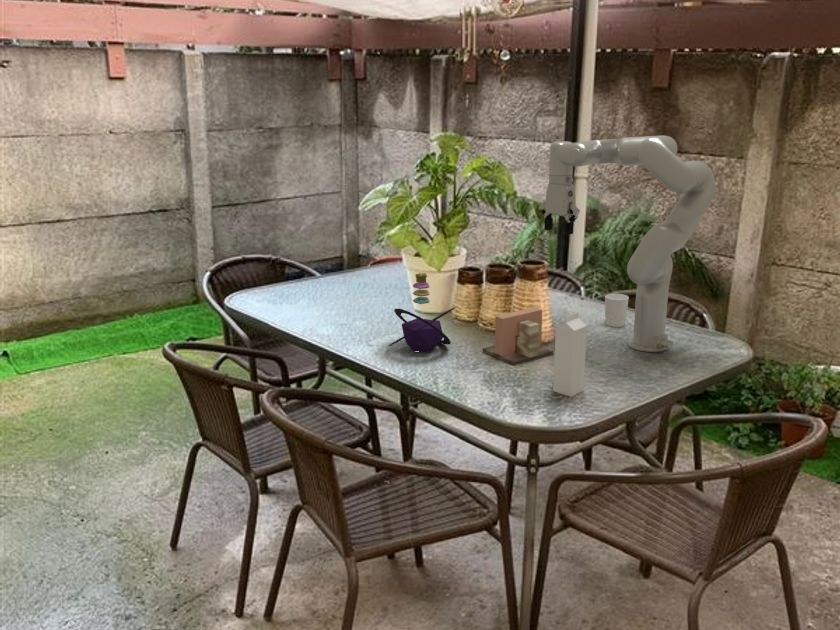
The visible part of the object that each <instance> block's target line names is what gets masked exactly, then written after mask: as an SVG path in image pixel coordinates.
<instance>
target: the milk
mask: <svg viewBox="0 0 840 630" xmlns="http://www.w3.org/2000/svg"><path fill="white" fill-rule="evenodd" d="M587 329H588V326H587V324H585V322H583V321H582V319H580V317H579V312H575V313H572V314H569V315H567V316H565V318H564V322H563V323H560V324H558V325H555V336H554V338H555V339H554V361H553V363H554V364H553V365H554V366H553V389H552V390H553V392H554V393H557V394H561V395H564V396H567V397H570V398H571V397H574V396H576V395H577V394H580V393H583V391H584V389H585V388H584V387H585V370H586V368H585V367H586V353H587V352H586V351H587V350H586V349H587V347H586V346H587V332H588V331H587Z"/></svg>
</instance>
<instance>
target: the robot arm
mask: <svg viewBox="0 0 840 630" xmlns="http://www.w3.org/2000/svg"><path fill="white" fill-rule="evenodd" d="M677 153H678V143H677V142H676V140H675V139H674V138H673V137H671V136H669V135H648V136H646V135H645V136H628V137H621V138H615V139H614V138H612V139H608V138H607V139H593V140H584V141H579V142H578V141H576V142H571V141H567V140H565V141H564V140H559V141H558V140H557V141H553V142H551V143H550V146H549V165H548V166H549V169H548V174H549V175H548V183H547V187H546V194H545V201H543V202H542V203H540V204H539V206H540V209H541V213H542V217H543V219H544V228H543V229H544V231H551V230H553V227H554V226H553V225H554V218H553V215H555V216H560V217H564V219H565V221H566V222H565V223H564V227H565V228H564V234H565V235H566V236H568V235H573V234H574V223H575V222H576V221H577V219H578V216H579V214H580V209H579V208H578V207H577V205H576V189H575V186H574V184H573V182H574V178H573V174H574V173H573V170H574V169H573V168H574V167H585V166H590V165H595V164H620V165H621V166H623V167H631V166H633V167H634V166H643V167H644V168H645V169H646V170H647V171H648V172H649V173H650V174H651V175H653V177H654V178H656V180H658V181H659V183H661V184H662V185H663V186H664V187H666V188H667V189H668V190H669V191H671V192H673V193H676V194H682V196H681V197H680V198H679V199H678V201H677V202H676V203H675V205H674V206H673V208H672V210H671V212H670V213H669V214H668V216H667V217H666V218H665V220H663V221H661V222H660V223H657V224H655V225H653V226H652V227H651V228H650V229H649V230H648V231H647V232H646V233H645V235H644V236H643V238H642V239H641V241H640V242H639V245H638V246H637V248H636V249H635V251H634V252H633V254H632V255H631V256H630V258H629V261H628V263H627V267H626V271H627V276H628V278H629V279H630V280H631V282H632V283H634V284H636V285H637V286H636V292H635V293H636V294H635V304H634V305H635V309H634V321H633V322H634V324H633V336H632V337H631V338H629V339H628V340H627V345H628V346H629V347H630V348H631V349H634V350H637V351H640V352H647V353H657V352H658V353H659V352H665V351H666V350H668V349H671V348H672V346H673V345H674V341H673V340H670V339H668V334H667V333H666V326H667V325H666V322H667V313H668V312H667V310H668V300H669V291H670V282H671V279H672V278H671V277H672V274H673V259H672V254H673V253H675V252H678V251H679V250H681V249H682V248H684V247H685V245H686V243H687V242H688V240H689V239H690V237H691V236H692V234H693V232H694V231H695V229H696V228H697V227H698V225H699V223H700V222H701V219H702V218H703V217H704V215H705V214H706V212H707V210H708V209H709V207H710V206H711V203H712V201H713V199H714V196H715V193H716V178H715V176H714V173H713V171H712V168H710V167H709V165H707V164H706V163H704V162H703V161H701V160H688V161H683V160H681V159H680V158H679V156H677Z"/></svg>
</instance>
